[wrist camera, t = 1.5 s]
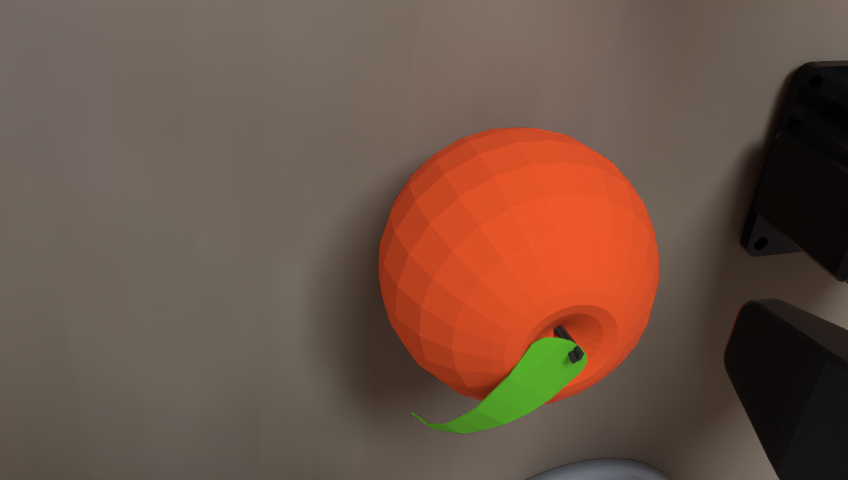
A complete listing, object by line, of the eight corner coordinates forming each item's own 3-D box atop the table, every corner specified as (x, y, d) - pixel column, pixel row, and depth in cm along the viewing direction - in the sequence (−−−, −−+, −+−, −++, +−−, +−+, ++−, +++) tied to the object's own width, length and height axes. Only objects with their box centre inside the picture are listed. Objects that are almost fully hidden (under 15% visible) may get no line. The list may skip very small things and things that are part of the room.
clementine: (455, 352, 26) (539, 533, 20) (280, 260, 23) (322, 448, 17) (629, 167, 24) (778, 310, 18) (466, 32, 20) (588, 158, 15)
